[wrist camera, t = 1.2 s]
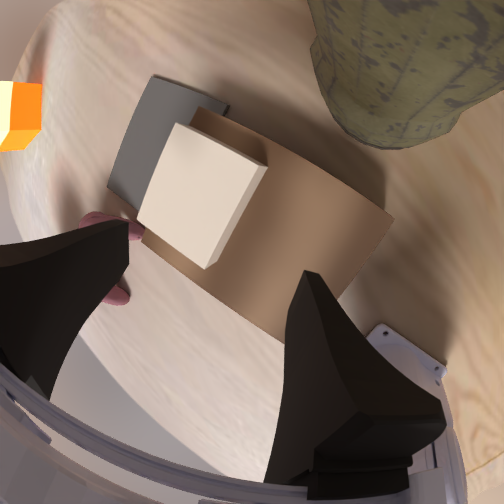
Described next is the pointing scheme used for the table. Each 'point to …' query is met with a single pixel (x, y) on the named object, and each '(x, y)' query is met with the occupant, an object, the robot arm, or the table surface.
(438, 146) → the table surface
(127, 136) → the mat
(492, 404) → the table surface
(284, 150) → the wooden tray block
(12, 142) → the orange juice
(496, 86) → the thermos
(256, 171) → the white block
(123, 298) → the video game controller
